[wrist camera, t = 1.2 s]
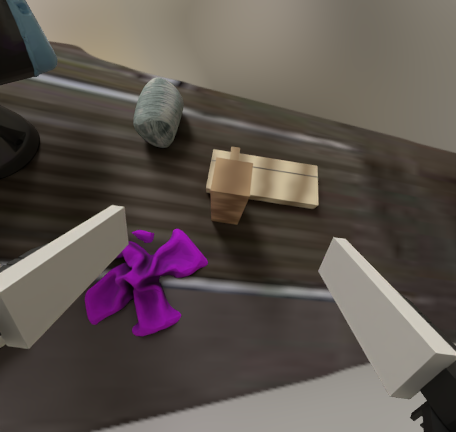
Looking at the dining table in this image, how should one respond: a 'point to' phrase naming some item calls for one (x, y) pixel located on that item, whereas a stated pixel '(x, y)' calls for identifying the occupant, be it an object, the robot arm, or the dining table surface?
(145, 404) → the dining table surface
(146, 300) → the cloth
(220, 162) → the tan angular block
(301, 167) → the board
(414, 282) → the dining table surface
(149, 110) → the spool
